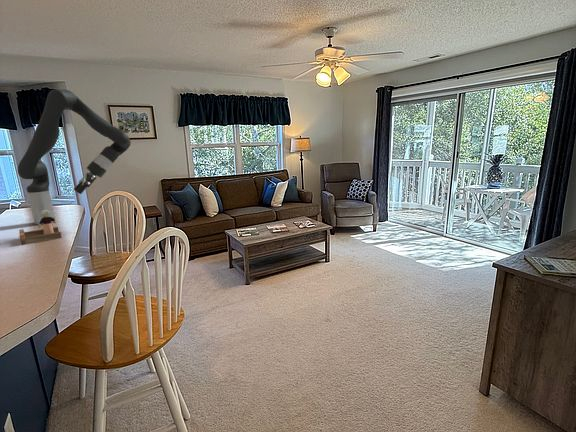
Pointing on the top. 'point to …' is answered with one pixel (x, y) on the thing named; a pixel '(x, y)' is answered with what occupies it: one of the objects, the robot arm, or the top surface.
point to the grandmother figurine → (47, 222)
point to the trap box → (38, 236)
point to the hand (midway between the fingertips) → (76, 191)
